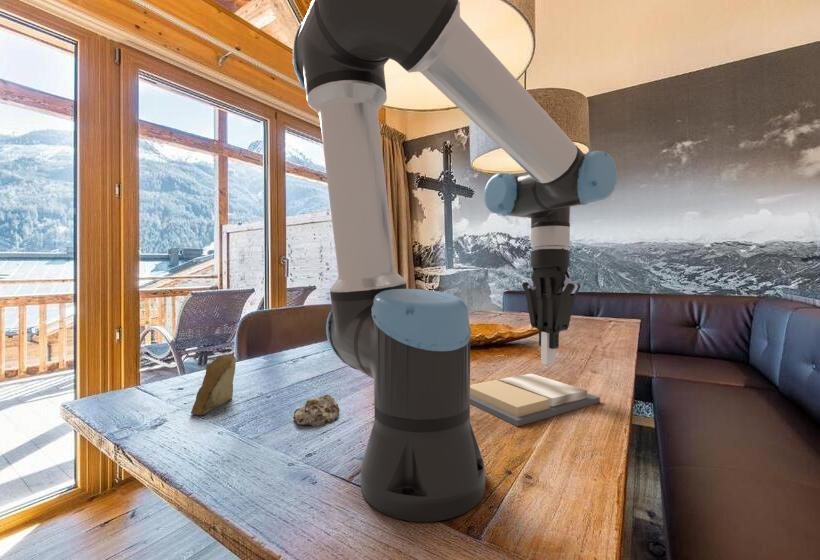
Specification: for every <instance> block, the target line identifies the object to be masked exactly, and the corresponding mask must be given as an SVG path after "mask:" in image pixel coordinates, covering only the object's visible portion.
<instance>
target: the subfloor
mask: <svg viewBox="0 0 820 560" xmlns="http://www.w3.org/2000/svg"><path fill="white" fill-rule="evenodd" d="M600 400H601V397H600V396H597V395H593V394H591V393H587V398H585V399H581V400H577V401H573V402H569V403H565V404H561V405H557V406H553V407H551V406H550V399H548V398H545V397H543V396H540V395H537V394H534V393H532V392H529V391H526V390H523V389H520V388H518V387H515V386H512V385H509V384H506V383H504V382H501V381H498V379H493V380H488V381H483V382H478V383H473V384H470V405H471V406H474V407H476V408H478V409H480V410H482V411H484V412H487V413H488V414H490V415H493V416H495V417H497V418H499V419H501V420H503V421H505V422H507V423H509V424H511V425H513V426H515V427H520V426H524V425H527V424H531V423H534V422H537V421H541V420H544V419H548V418H551V417H554V416H557V415H562V414H564V413H568V412H572V411H575V410H579V409H582V408H585V407H588V406H592V405H595V404H599V403H600V402H601V401H600Z"/></svg>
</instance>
